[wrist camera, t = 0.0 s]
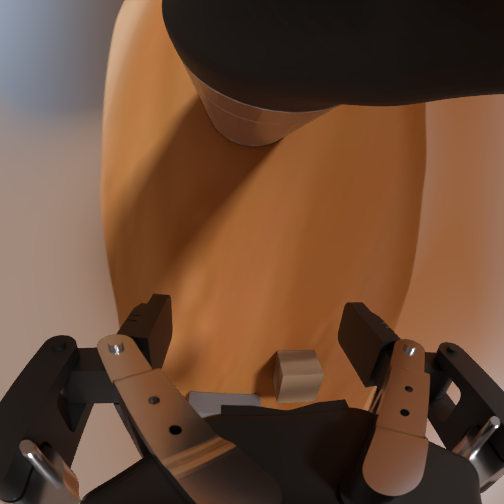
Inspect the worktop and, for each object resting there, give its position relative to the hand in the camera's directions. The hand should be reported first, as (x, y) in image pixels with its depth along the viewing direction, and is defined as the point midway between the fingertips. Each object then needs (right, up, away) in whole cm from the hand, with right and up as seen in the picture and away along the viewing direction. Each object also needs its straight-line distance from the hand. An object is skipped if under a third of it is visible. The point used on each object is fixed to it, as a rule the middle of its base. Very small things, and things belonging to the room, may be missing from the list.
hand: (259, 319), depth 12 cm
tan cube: (+5, -12, +22) cm, 26 cm away
